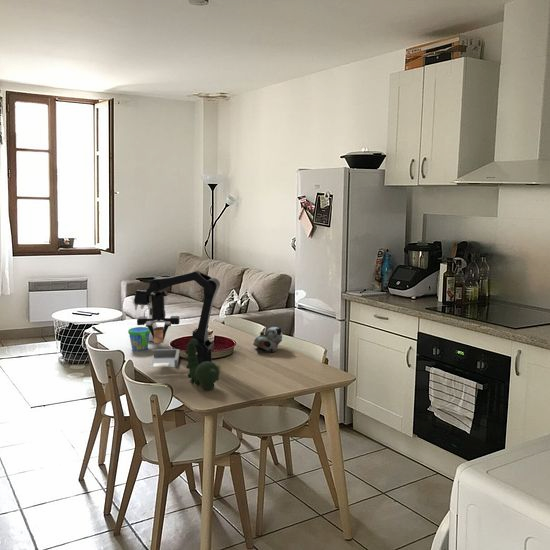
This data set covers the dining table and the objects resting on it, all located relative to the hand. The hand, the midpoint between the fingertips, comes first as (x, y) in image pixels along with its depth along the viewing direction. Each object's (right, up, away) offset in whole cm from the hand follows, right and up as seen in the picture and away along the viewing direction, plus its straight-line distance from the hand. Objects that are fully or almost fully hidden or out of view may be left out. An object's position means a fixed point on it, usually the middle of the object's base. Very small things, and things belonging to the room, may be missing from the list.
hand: (159, 338), depth 282 cm
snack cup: (-13, -8, +21) cm, 26 cm away
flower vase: (-11, -5, +38) cm, 40 cm away
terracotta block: (0, -1, 0) cm, 1 cm away
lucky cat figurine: (+49, -8, +21) cm, 54 cm away
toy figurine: (+23, -16, -30) cm, 41 cm away
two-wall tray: (+3, -11, +1) cm, 11 cm away
